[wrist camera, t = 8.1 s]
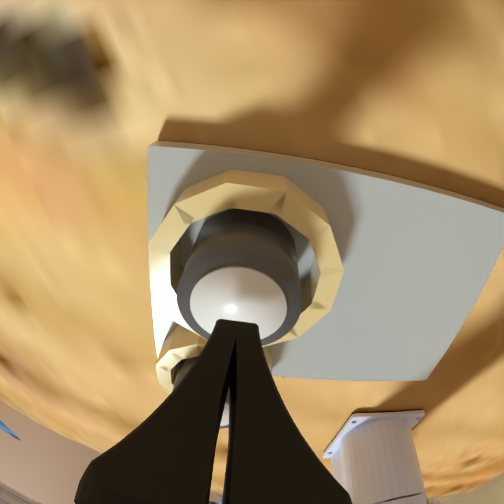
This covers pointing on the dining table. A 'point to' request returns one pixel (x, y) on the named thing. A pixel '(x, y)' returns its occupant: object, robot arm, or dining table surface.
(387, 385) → the dining table surface
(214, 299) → the cap
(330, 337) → the board
